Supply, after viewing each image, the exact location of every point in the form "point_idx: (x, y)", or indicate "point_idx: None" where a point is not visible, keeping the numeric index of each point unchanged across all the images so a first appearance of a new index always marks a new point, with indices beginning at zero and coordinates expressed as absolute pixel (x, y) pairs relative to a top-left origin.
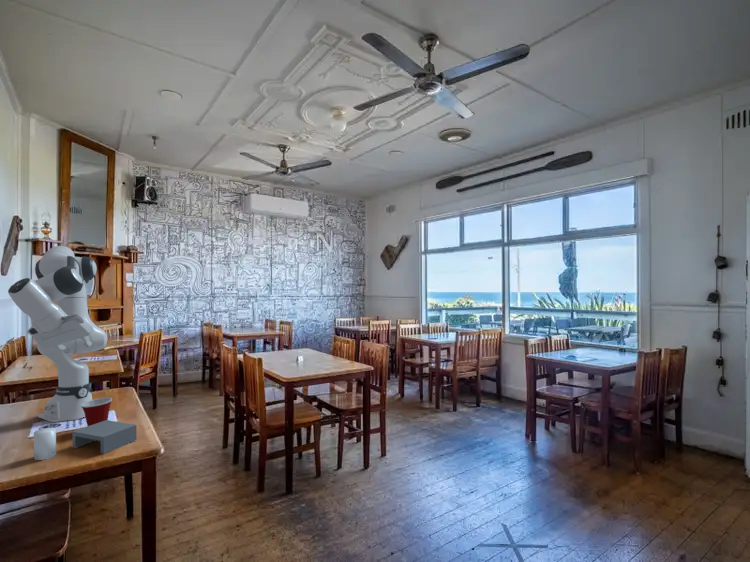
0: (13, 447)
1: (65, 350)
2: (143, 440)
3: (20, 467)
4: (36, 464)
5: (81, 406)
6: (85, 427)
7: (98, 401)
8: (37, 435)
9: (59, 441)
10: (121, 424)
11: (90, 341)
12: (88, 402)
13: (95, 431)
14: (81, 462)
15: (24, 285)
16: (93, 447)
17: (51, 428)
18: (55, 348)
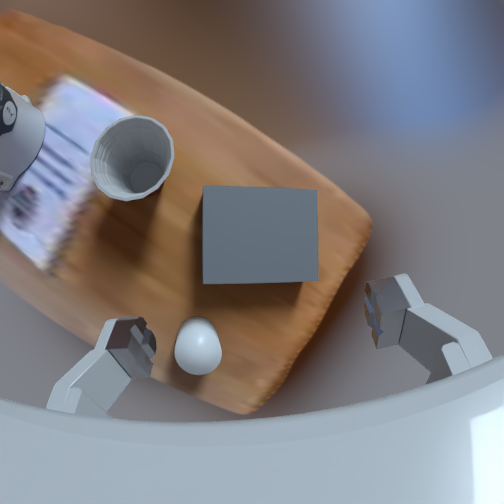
0: (76, 323)
1: (146, 370)
2: None
3: (207, 382)
4: (221, 363)
5: (116, 198)
6: (205, 250)
7: (109, 136)
8: (205, 372)
9: (131, 264)
10: (278, 199)
11: (416, 290)
12: (95, 159)
13: (262, 261)
14: (299, 322)
15: None
16: None
17: (193, 336)
18: None
